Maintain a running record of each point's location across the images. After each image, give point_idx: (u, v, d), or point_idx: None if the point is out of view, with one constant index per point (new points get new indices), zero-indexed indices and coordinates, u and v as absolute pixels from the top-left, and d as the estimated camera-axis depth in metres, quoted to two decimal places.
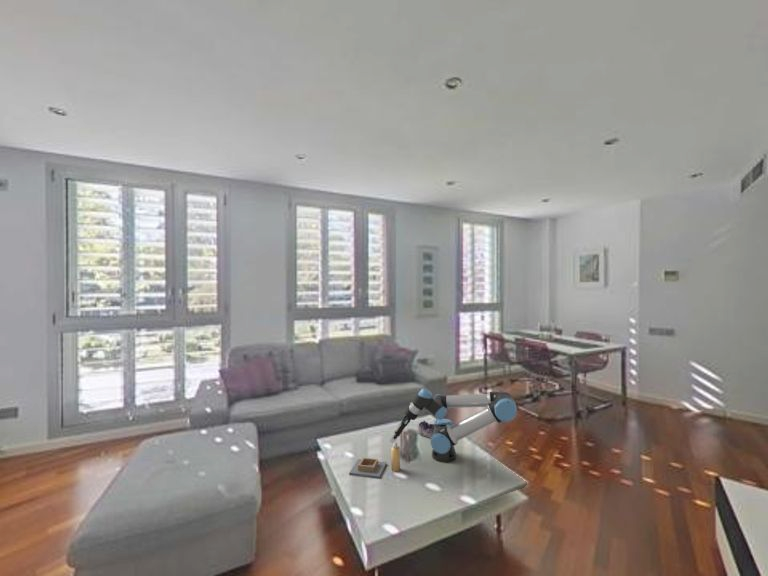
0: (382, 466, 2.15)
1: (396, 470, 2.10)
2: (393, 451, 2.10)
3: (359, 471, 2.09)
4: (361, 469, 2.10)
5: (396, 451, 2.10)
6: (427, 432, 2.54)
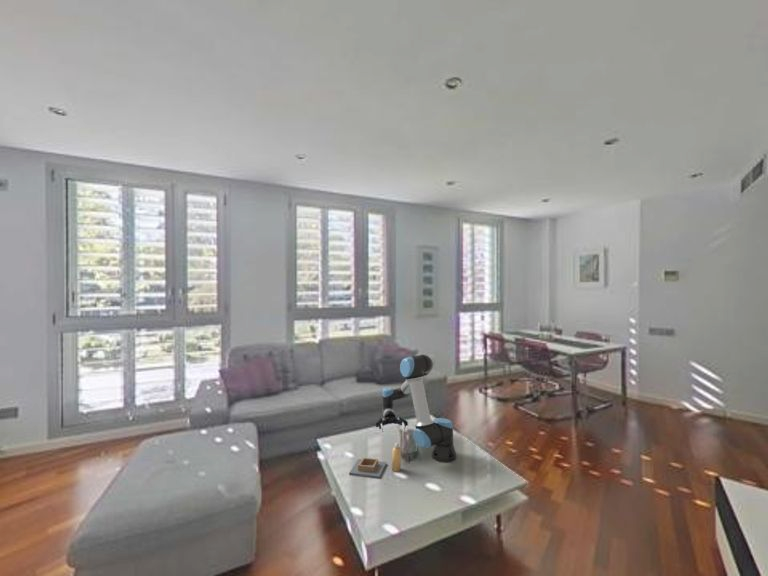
0: (382, 466, 2.15)
1: (395, 469, 2.10)
2: (393, 451, 2.10)
3: (359, 471, 2.09)
4: (361, 469, 2.10)
5: (396, 451, 2.10)
6: None
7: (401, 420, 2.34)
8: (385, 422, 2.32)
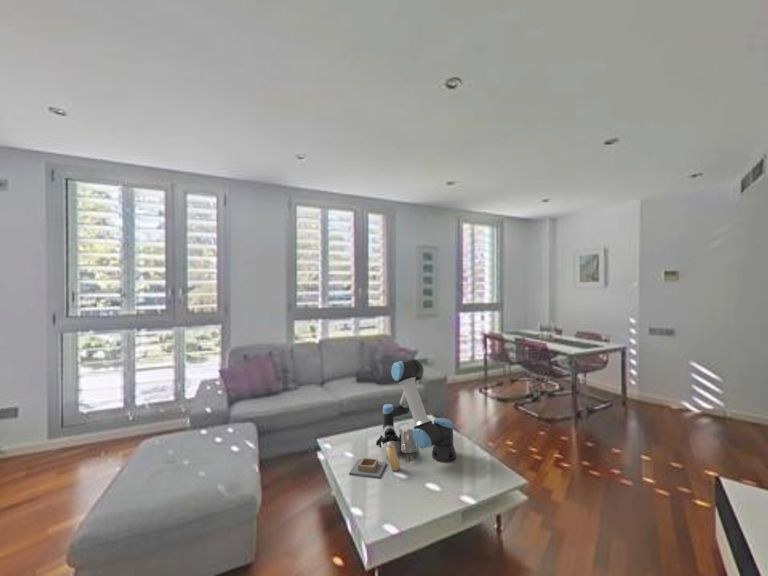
0: (382, 466, 2.15)
1: (393, 469, 2.11)
2: (387, 450, 2.12)
3: (359, 471, 2.09)
4: (361, 469, 2.10)
5: (389, 450, 2.11)
6: None
7: None
8: (385, 440, 2.33)
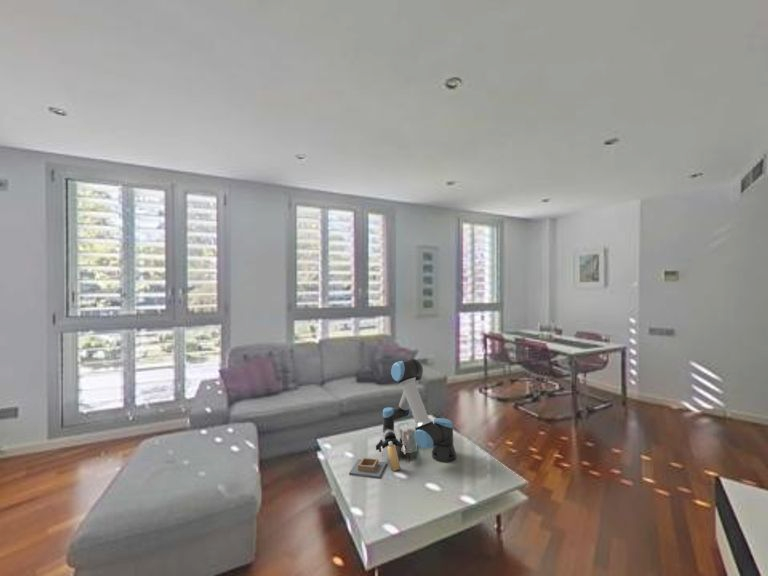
0: (382, 466, 2.15)
1: (393, 468, 2.11)
2: (387, 449, 2.13)
3: (359, 471, 2.09)
4: (361, 469, 2.10)
5: (390, 449, 2.12)
6: None
7: None
8: (385, 444, 2.28)
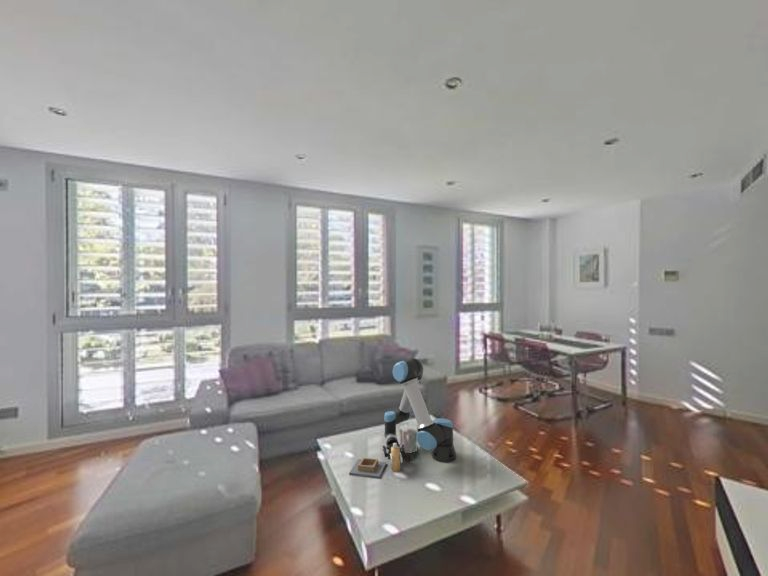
0: (382, 466, 2.15)
1: (393, 469, 2.11)
2: (391, 450, 2.12)
3: (359, 471, 2.09)
4: (361, 469, 2.10)
5: (393, 451, 2.10)
6: None
7: (402, 449, 2.20)
8: None
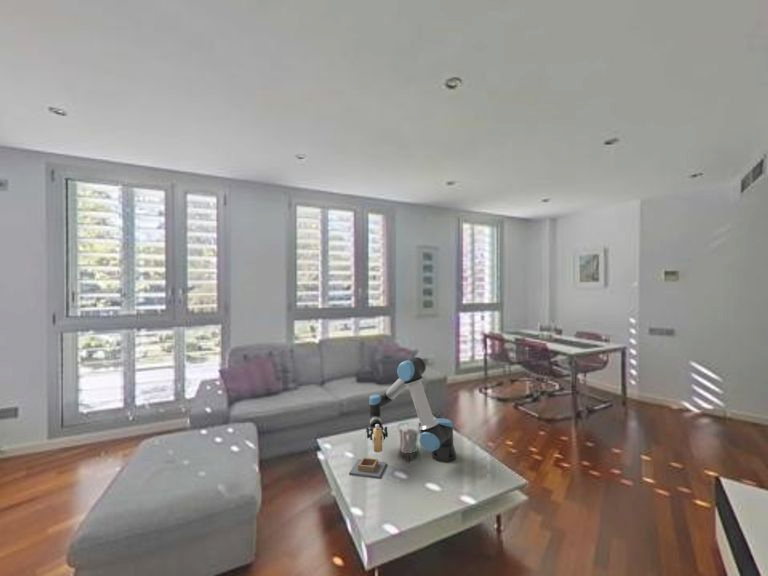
0: (382, 466, 2.15)
1: (375, 450, 2.13)
2: (373, 431, 2.13)
3: (359, 471, 2.09)
4: (361, 469, 2.10)
5: (375, 432, 2.12)
6: None
7: (384, 430, 2.22)
8: None
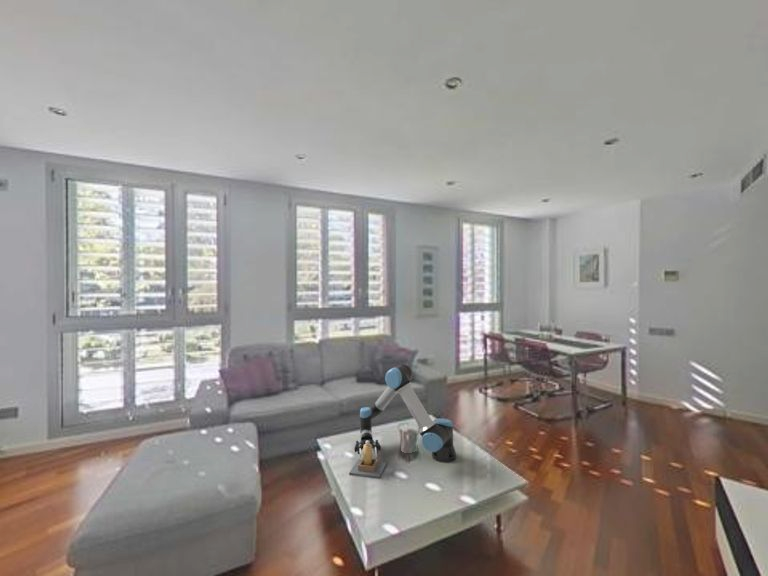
0: (382, 466, 2.15)
1: None
2: (363, 447, 2.13)
3: (359, 471, 2.09)
4: (361, 469, 2.10)
5: (365, 448, 2.12)
6: None
7: (376, 444, 2.22)
8: None
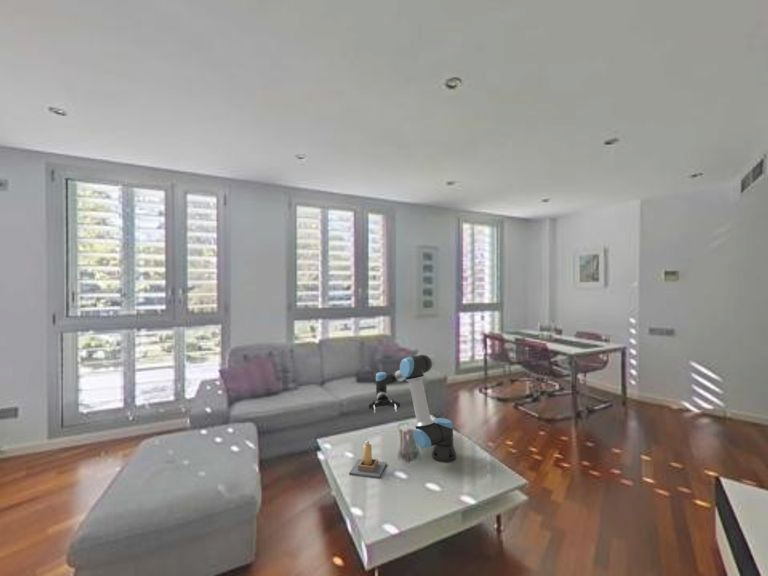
0: (382, 466, 2.15)
1: None
2: (363, 448, 2.13)
3: (359, 471, 2.09)
4: (361, 469, 2.10)
5: (365, 448, 2.12)
6: None
7: (394, 402, 2.39)
8: (378, 404, 2.38)
